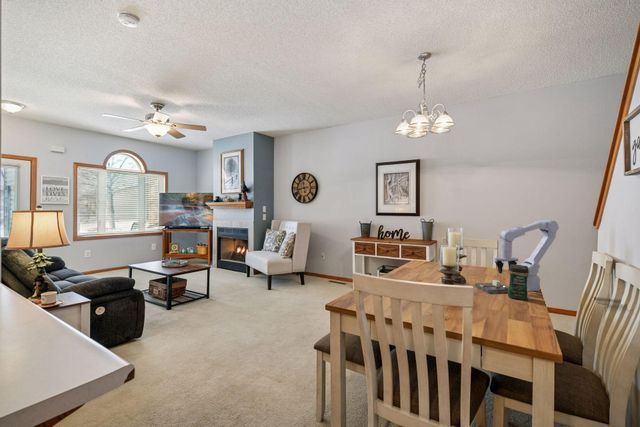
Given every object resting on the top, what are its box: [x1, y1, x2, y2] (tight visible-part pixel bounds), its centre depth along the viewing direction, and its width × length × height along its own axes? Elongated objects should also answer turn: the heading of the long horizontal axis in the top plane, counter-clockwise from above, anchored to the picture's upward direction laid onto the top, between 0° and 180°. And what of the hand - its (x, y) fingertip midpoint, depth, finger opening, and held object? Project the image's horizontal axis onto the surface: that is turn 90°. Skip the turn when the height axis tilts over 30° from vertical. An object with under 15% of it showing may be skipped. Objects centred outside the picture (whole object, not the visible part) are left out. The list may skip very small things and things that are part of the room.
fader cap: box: [491, 279, 501, 287], centre depth 203 cm, size 2×4×3 cm, turn 5°
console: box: [474, 282, 509, 294], centre depth 203 cm, size 16×14×3 cm
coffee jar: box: [507, 264, 529, 300], centre depth 187 cm, size 10×8×19 cm
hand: (505, 273), depth 203 cm, fingers open, 6 cm apart
